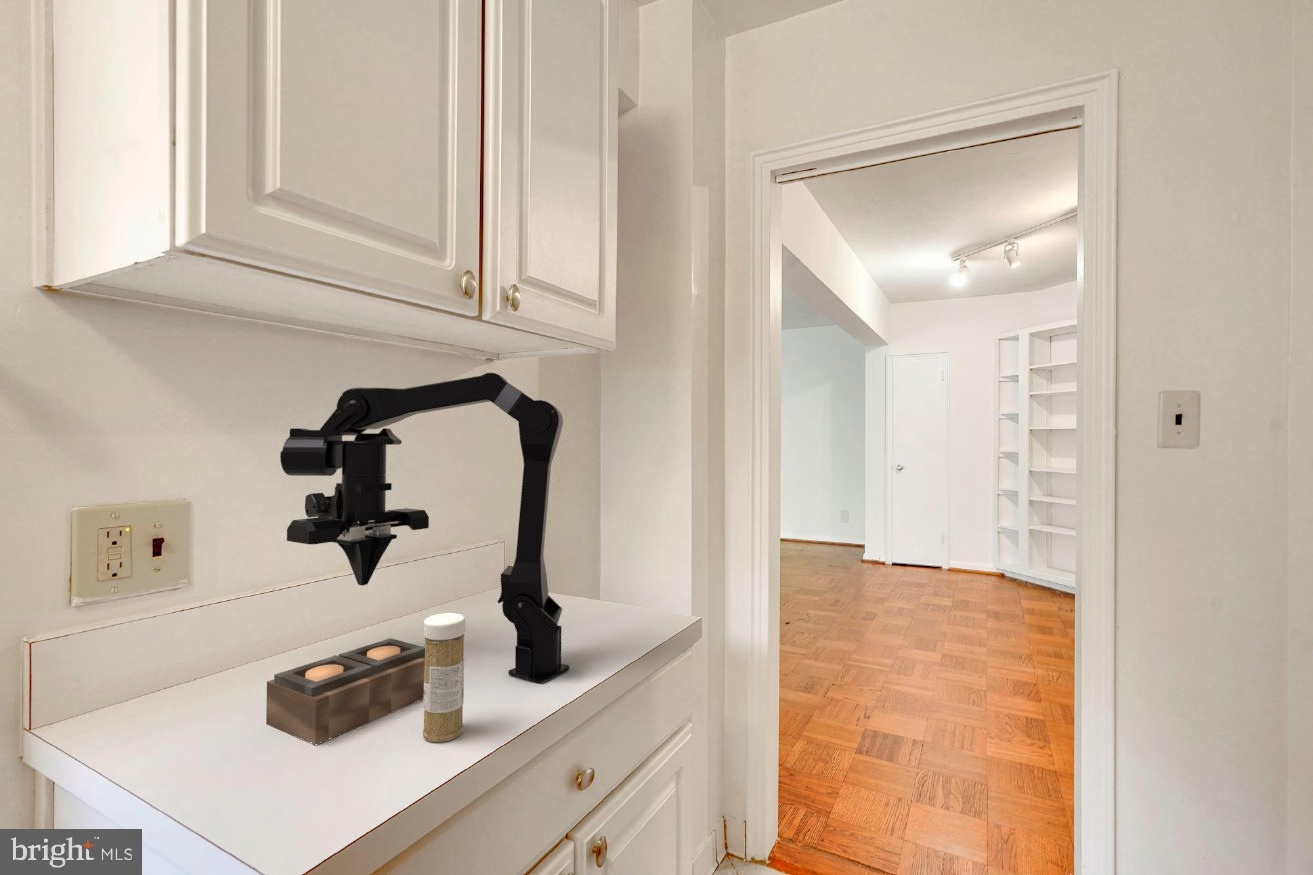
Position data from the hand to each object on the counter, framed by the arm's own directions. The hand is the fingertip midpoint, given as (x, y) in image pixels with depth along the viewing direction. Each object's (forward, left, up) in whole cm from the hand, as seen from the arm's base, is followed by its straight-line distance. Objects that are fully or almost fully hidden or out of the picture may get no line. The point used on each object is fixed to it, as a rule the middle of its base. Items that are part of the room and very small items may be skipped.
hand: (362, 584), depth 87 cm
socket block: (+7, +9, -13) cm, 17 cm away
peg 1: (+11, +9, -13) cm, 19 cm away
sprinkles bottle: (+6, +24, -13) cm, 28 cm away
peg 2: (+3, +9, -13) cm, 16 cm away
